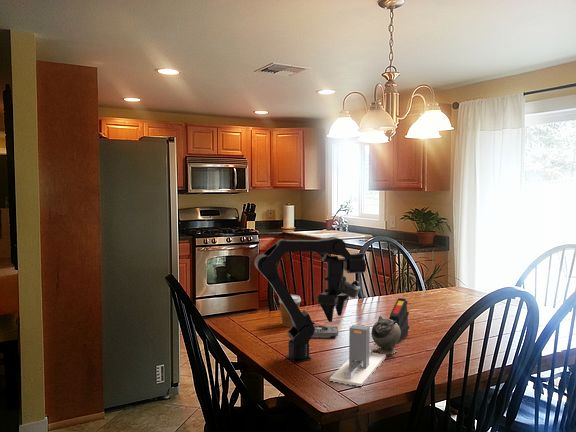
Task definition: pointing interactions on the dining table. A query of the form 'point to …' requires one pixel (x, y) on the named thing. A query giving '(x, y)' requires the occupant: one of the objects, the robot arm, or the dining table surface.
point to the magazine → (401, 316)
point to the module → (359, 344)
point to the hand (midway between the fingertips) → (335, 318)
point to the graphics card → (325, 331)
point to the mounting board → (361, 374)
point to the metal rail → (355, 367)
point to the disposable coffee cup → (284, 313)
